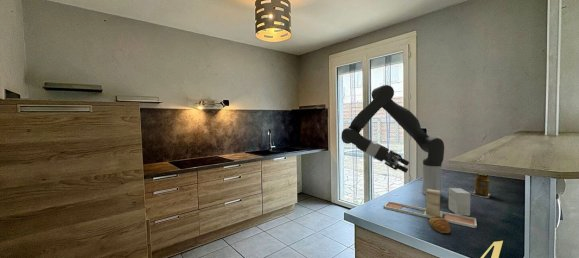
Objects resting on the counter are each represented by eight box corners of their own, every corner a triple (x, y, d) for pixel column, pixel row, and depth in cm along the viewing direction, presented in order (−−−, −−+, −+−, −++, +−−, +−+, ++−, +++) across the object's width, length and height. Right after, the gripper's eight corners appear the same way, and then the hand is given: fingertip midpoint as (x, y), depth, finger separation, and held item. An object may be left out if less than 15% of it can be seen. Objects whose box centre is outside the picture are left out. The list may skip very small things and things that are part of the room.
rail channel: (388, 202, 121) (388, 200, 121) (475, 220, 99) (475, 218, 99) (383, 208, 114) (383, 206, 114) (476, 228, 92) (476, 226, 92)
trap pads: (388, 203, 120) (388, 203, 120) (474, 220, 99) (474, 220, 99) (385, 207, 114) (385, 207, 114) (474, 227, 93) (474, 226, 93)
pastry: (455, 235, 87) (455, 226, 87) (436, 234, 89) (436, 224, 89) (444, 224, 97) (444, 215, 96) (427, 223, 98) (427, 214, 98)
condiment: (490, 194, 132) (490, 174, 132) (488, 198, 126) (489, 176, 126) (474, 191, 137) (474, 172, 137) (471, 195, 131) (472, 174, 131)
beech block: (427, 211, 109) (427, 188, 108) (439, 214, 106) (440, 190, 105) (425, 215, 105) (426, 191, 104) (438, 218, 102) (439, 193, 101)
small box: (470, 216, 104) (470, 193, 103) (456, 215, 105) (456, 192, 104) (460, 209, 112) (461, 188, 111) (448, 208, 113) (448, 187, 112)
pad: (425, 210, 110) (425, 210, 110) (442, 214, 106) (442, 214, 106) (423, 215, 105) (423, 215, 105) (441, 219, 100) (441, 219, 100)
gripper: (377, 150, 111) (411, 167, 106) (382, 140, 123) (412, 156, 117) (370, 162, 115) (402, 179, 109) (375, 151, 126) (405, 167, 121)
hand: (407, 167), depth 113 cm, fingers open, 8 cm apart
